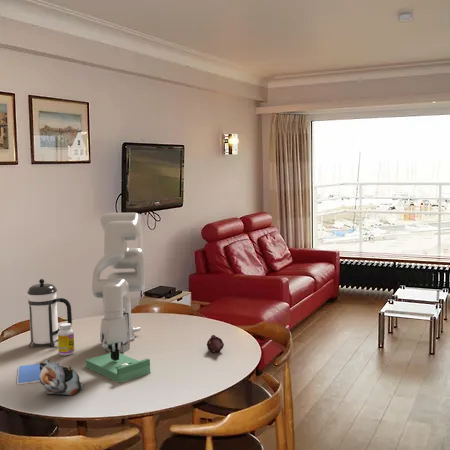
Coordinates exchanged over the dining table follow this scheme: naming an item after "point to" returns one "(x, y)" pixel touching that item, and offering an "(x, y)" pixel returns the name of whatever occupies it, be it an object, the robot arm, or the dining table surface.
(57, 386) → the lucky cat figurine
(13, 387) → the dining table surface
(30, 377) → the tablet computer
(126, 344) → the coffee box
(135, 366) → the green
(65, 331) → the supplement bottle
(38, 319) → the coffee press
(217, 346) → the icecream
